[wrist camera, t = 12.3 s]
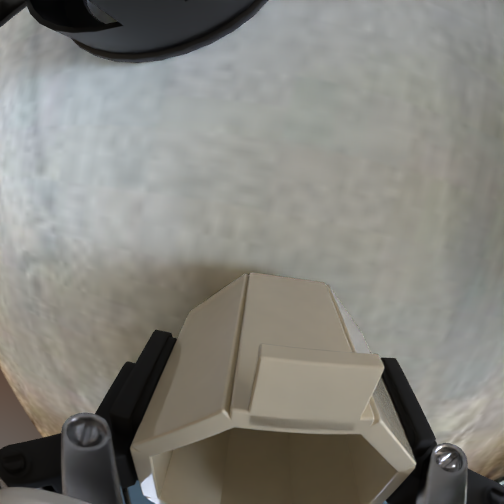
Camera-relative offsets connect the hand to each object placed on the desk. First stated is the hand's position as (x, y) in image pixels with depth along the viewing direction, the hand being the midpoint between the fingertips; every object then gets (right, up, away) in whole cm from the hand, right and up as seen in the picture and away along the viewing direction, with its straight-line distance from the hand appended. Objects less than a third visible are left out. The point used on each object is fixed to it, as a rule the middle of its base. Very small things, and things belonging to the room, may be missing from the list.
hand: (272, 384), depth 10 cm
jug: (0, +1, +2) cm, 2 cm away
